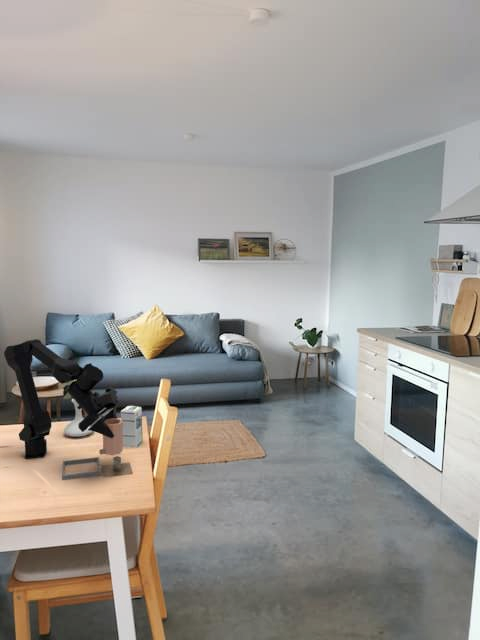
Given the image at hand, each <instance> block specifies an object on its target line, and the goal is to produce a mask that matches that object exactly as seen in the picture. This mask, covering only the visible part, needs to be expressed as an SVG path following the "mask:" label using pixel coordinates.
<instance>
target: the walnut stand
mask: <svg viewBox="0 0 480 640" xmlns="http://www.w3.org/2000/svg"><path fill="white" fill-rule="evenodd" d="M112 461H113V463H112V464H105V465H102V466H101V468H102V477H103V478H111V477H112V478H113V477H120V476H127V475H133V473H134V472H133V469H132V465H131V462H122V458H121V456H120V455H119V456H116V455H115V456H113V458H112Z"/></svg>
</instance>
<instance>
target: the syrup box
mask: <svg viewBox="0 0 480 640" xmlns="http://www.w3.org/2000/svg"><path fill="white" fill-rule="evenodd" d="M142 410H143V408H142V406H138V405H127V406H126V407H125V408H123V409H122V410H120V419H121V420H122V421H123V447H125V448H127V447H128V448H138V447H139V446H140V445H141V444H143V442H144V441H143V440H144V439H143V412H142Z"/></svg>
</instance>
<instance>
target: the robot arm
mask: <svg viewBox="0 0 480 640" xmlns="http://www.w3.org/2000/svg"><path fill="white" fill-rule="evenodd" d="M3 353H4V356H3V357H4V358H5V360H6V363H7V365H8V366H9V367H10V368H11V370H13V371H14V373H15V375H16V376H15V377H16V380H17V384H18V387H19V391H20V395H21V398H22V399H21V400H22V402H23V406H24V410H25V414H24V417H23V420H22V421H23V422H22V423H23V428H22V429H21V430H20V432H19V433H18V437H19V440H20V441H23V442H24V459H35V458H45V457H46V454H47V453H48V445H47V444H48V442H47V438H45V437H46V436H49V435H50V433H51V429H52V421H53V420H52V419H51V416H50V412H49V411H48V410H46V411H45V409H43V407H42V405H41V403H40V399H39V395H38V392H37V388H36V384H35V380H34V377H33V373H32V369H31V366H32V363H33V361H34V358H35V359H37V360H38V361H40V363H42V364H43V365H44V366H46V367H47V368H49V370H50V371H51V374H52V377H53V378H54V379H55V380H56V381H57V382H58V384H59V383H67V382H70V381H73V382H72V383H71V384H70V385H66V386H65V387H63V389H62V390H63V392H62V393H63V394H62V395H63V397H65V396H66V395H67V394H70V396H71V397H70V398H71V399H74V400H75V401H76V402H77V403H78V405H79V406H78V407H77V408H78V409H79V410H80V409H81V408H82V410H83V411H84V412H85V414H86V416H85V417H83V418H84V419H83V420H82V421H81V422H80V423H79V424H78V428H79V429H80V430H81V431H82V432H84V431H85V430H86V429H87V428H88V427H89V426H90V428H89V429H88V430H91V431H93V432H95V433H97V434H100V435H102V436H103V435H105V436H107V437H110V438H113V437H114V434H113V433H112V431H111V430H110V429H109V427H108V426H107V425H106V423H105V420H106V419H112V418H115V419H118V416H117V412H116V411H117V408H118V407H117V405H118V404H119V403H120V401H119V400H118V395H117V394H118V390H116V389H115V388H114V387H113V386H109V387H107V388H106V389H105V391H104V392H103V393H101V394H100V393H99V392H98V391H95V392H93V391H92V390H93V389H94V388H95V387H96V386H97V385H98V384H99V383H100V382H101V381H102V380H103V379H104V373H103V371H102V369H100V368H99V367H97V366H94V365H93V364H92V363H91V362H90V363H85V365H84V366H83V367H82V366H80V364H78V363H77V362H75V361H74V360H71V359H67V358H62V357H61V356H60V355H58V354H57V353H55V351H53V350H51V349H50V348H49V347H47V346H46V345H45V344H43V343H42V341H41V339H38V338H34V339H29V340H26V341H23V342H22V343H18V344H13V345H8V346H6V348H5V350H4V352H3ZM33 357H34V358H33Z"/></svg>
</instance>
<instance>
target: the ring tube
mask: <svg viewBox="0 0 480 640" xmlns="http://www.w3.org/2000/svg"><path fill="white" fill-rule="evenodd" d="M105 423H106V425H107V426H108V427H109V429H110V430H111V431H112V433H113V434H114V437H113V438H110V437H107V436H105V435H102V448H101V449H99V450H98V451H99V454H100V455H106V456H107V455H109V456H116V455H120V454H121V453H122V452H123V450H124V449H123V447H124V446H123V421H122V420H121V418H117V419H115V418H112V419H106V420H105Z"/></svg>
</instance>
